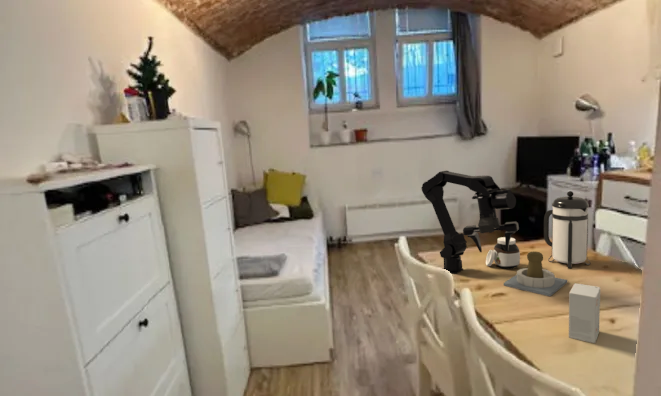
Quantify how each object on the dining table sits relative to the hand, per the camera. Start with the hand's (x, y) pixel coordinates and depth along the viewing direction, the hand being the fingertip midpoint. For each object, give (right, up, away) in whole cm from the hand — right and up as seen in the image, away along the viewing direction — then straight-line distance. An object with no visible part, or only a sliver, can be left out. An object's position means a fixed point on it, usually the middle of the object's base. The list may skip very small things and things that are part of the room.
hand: (493, 251), depth 148 cm
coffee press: (+37, -7, +18) cm, 41 cm away
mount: (+14, -12, -2) cm, 19 cm away
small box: (+9, -18, -38) cm, 43 cm away
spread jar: (+11, -9, +19) cm, 23 cm away
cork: (+14, -11, -2) cm, 18 cm away
